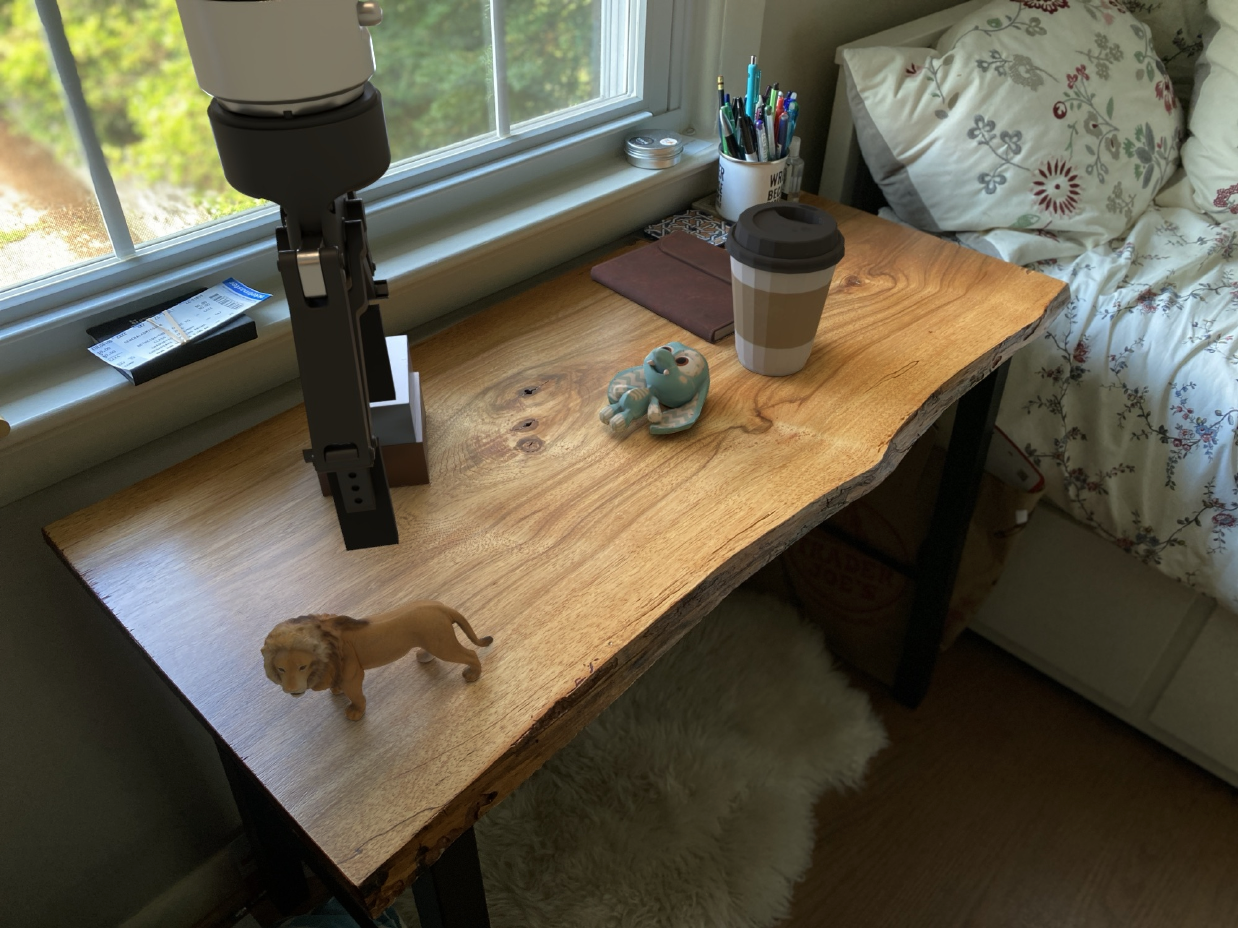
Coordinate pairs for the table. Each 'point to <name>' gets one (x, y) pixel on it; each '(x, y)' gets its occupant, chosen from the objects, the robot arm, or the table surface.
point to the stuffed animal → (659, 390)
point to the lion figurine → (364, 648)
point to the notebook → (677, 282)
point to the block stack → (399, 423)
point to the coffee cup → (781, 282)
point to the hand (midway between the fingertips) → (373, 464)
